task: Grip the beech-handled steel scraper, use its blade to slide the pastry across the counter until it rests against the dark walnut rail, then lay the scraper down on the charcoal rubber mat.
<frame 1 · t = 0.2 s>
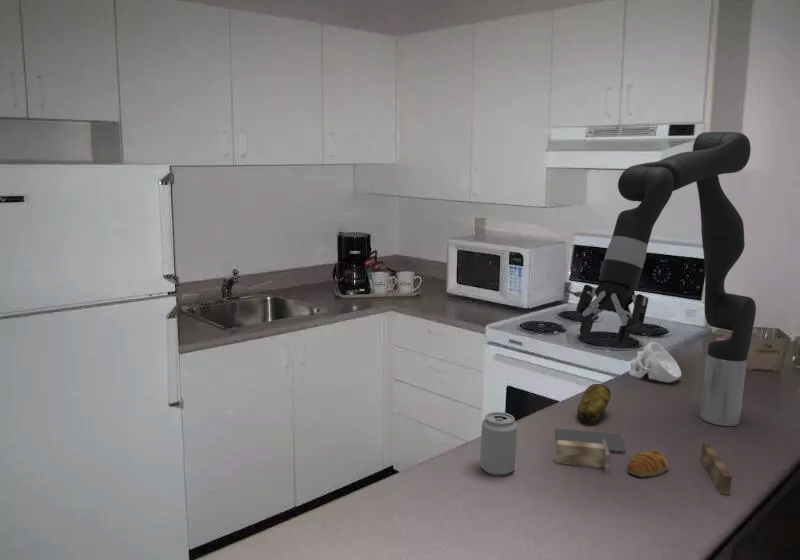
hand: (601, 340, 134), 31 cm above the worktop, tool tilted 20°, fingers open, 8 cm apart
potato: (591, 417, 175), on the worktop
can: (497, 470, 144), on the worktop
rail: (714, 476, 144), on the worktop
pastry: (647, 471, 146), on the worktop
scraper: (579, 463, 148), on the worktop
skull bowl: (653, 379, 206), on the worktop
mat: (589, 441, 159), on the worktop
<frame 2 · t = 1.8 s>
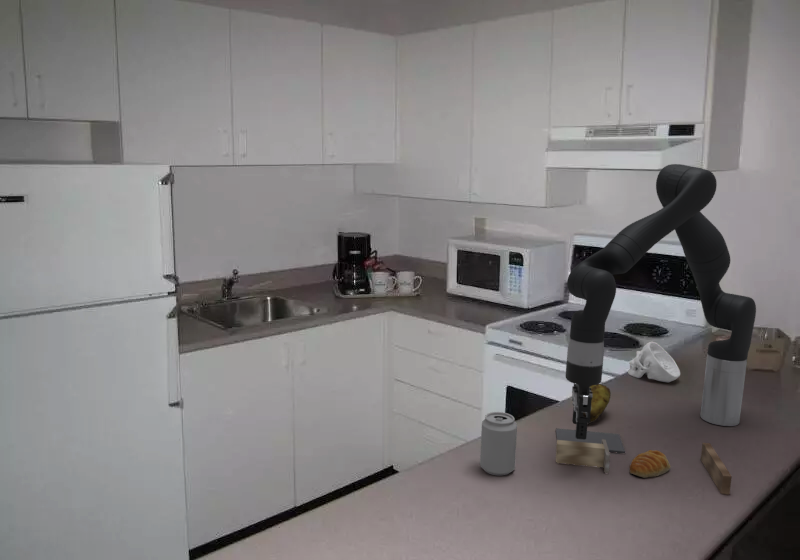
hand: (578, 430, 147), 8 cm above the worktop, tool pointing down, fingers open, 8 cm apart
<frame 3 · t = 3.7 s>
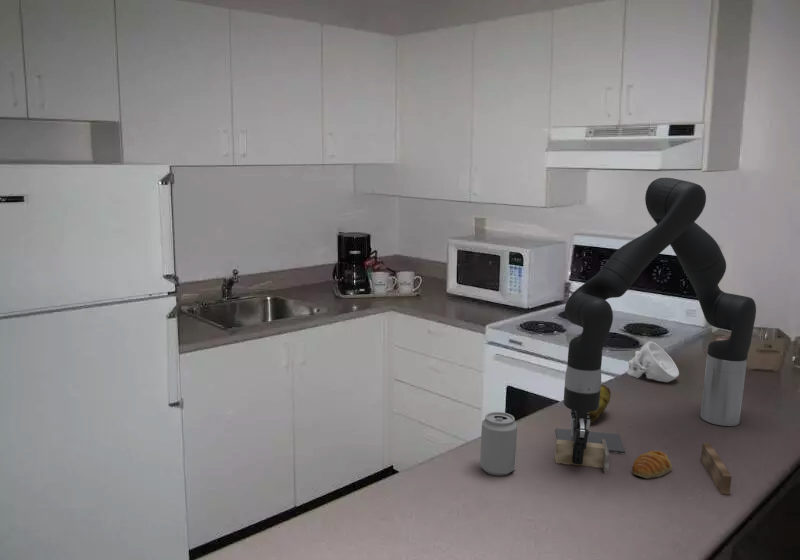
hand: (576, 460, 148), 1 cm above the worktop, tool pointing down, fingers closed on scraper, 2 cm apart
scraper: (578, 462, 148), on the worktop, touching gripper
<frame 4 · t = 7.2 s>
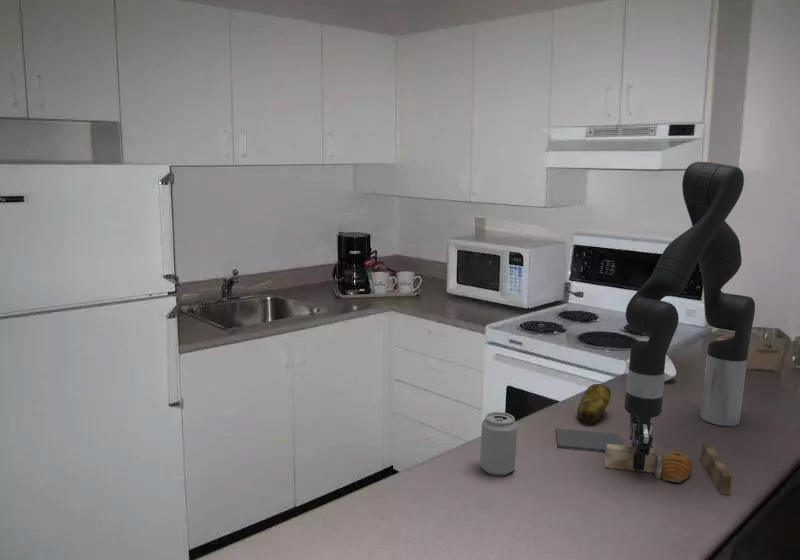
hand: (637, 466, 146), 1 cm above the worktop, tool pointing down, fingers closed on scraper, 2 cm apart
pastry: (674, 475, 144), on the worktop
scraper: (628, 467, 147), on the worktop, touching gripper
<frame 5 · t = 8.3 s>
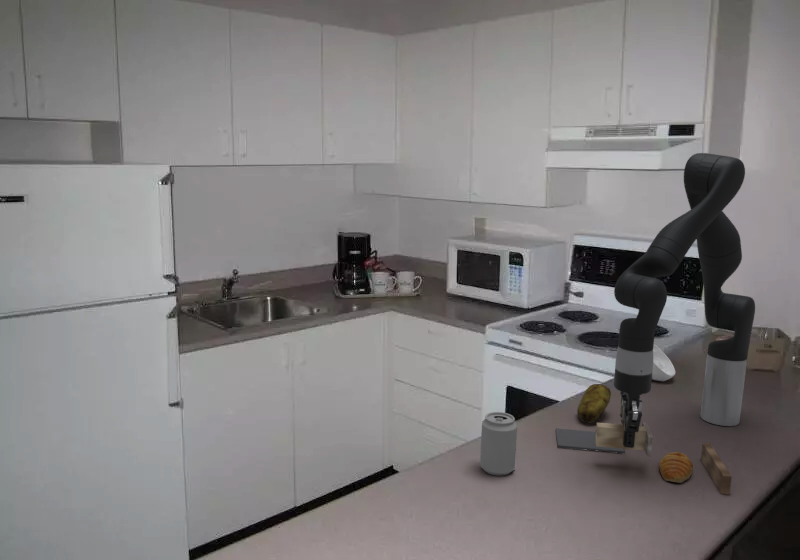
hand: (627, 443, 146), 5 cm above the worktop, tool pointing down, fingers closed on scraper, 2 cm apart
scraper: (619, 445, 146), point 5 cm above the worktop, touching gripper
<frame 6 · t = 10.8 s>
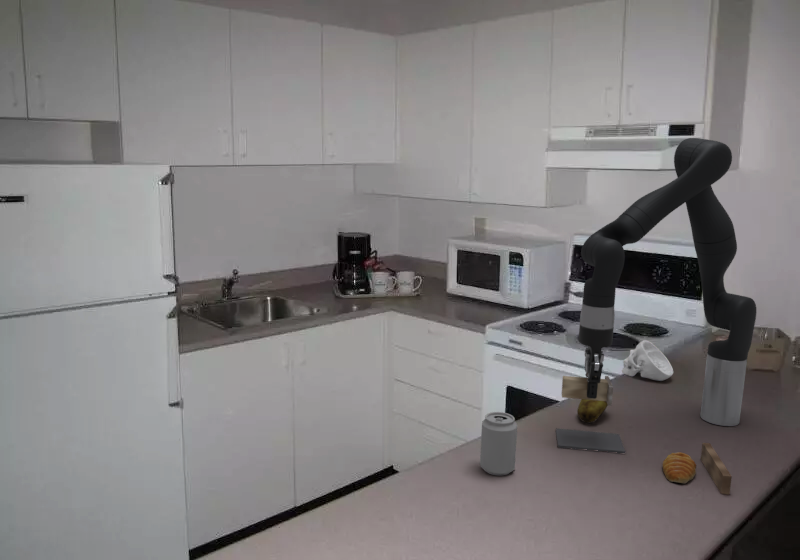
hand: (590, 395, 157), 12 cm above the worktop, tool pointing down, fingers closed on scraper, 2 cm apart
scraper: (583, 397, 157), point 11 cm above the worktop, touching gripper
when the fingers open (3 cm above the worktop, at t = 12.9 s): scraper drops 1 cm, resting on mat.
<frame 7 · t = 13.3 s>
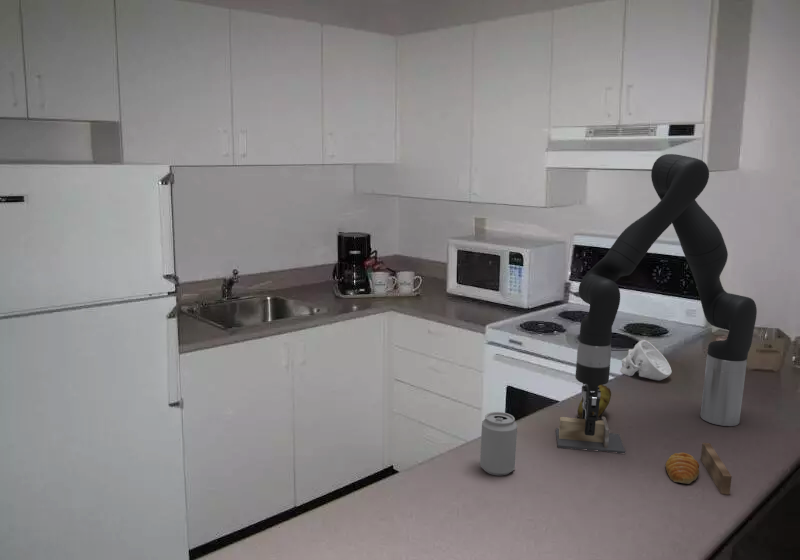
hand: (587, 428, 159), 3 cm above the worktop, tool pointing down, fingers open, 6 cm apart
scraper: (580, 438, 160), point 1 cm above the worktop, touching mat
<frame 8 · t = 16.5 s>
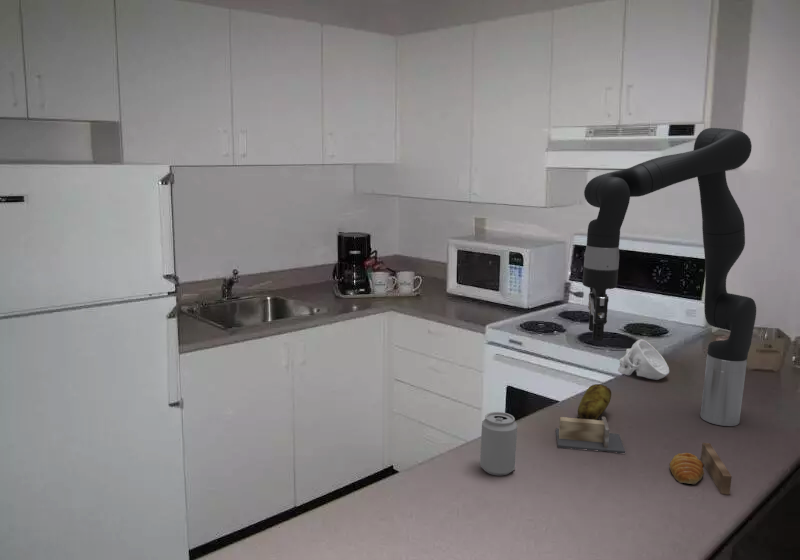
hand: (595, 335, 155), 26 cm above the worktop, tool pointing down, fingers open, 8 cm apart
at the end: pastry inside the target area (0.7 cm from its centre), on the worktop; scraper inside the target area on the mat (2.0 cm from its centre), point 0.6 cm above the mat's base; the gripper is holding nothing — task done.
